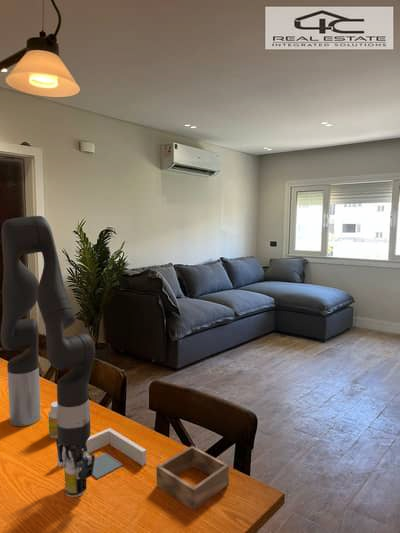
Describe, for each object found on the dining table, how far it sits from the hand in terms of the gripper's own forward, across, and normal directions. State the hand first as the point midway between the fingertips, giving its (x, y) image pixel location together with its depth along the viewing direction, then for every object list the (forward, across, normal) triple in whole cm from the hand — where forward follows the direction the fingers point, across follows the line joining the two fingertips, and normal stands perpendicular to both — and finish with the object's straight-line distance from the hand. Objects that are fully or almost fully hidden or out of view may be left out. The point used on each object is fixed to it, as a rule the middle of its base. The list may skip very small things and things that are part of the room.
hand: (75, 485), depth 96 cm
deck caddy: (+1, +19, +21) cm, 28 cm away
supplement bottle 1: (+2, -27, +10) cm, 29 cm away
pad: (+1, -4, +10) cm, 11 cm away
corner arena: (+1, -4, +10) cm, 11 cm away
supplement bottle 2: (+2, 0, 0) cm, 2 cm away
